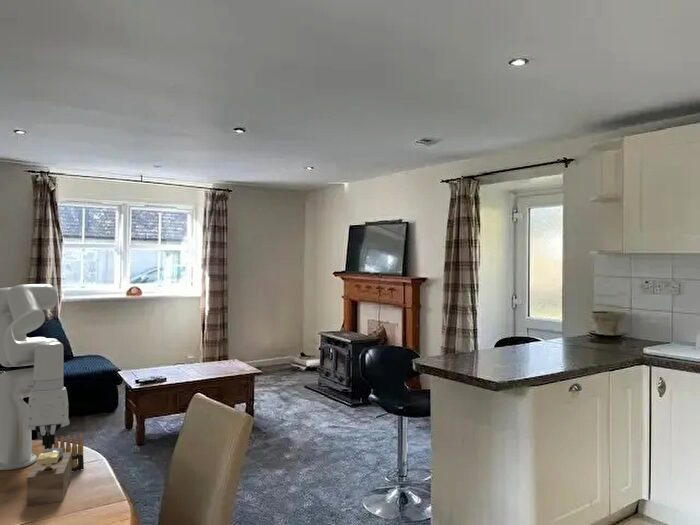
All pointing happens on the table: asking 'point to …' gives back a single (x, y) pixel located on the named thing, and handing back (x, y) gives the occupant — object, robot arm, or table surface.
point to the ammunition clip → (73, 450)
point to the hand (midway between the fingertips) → (48, 447)
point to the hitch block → (49, 481)
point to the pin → (56, 451)
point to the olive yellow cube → (48, 459)
